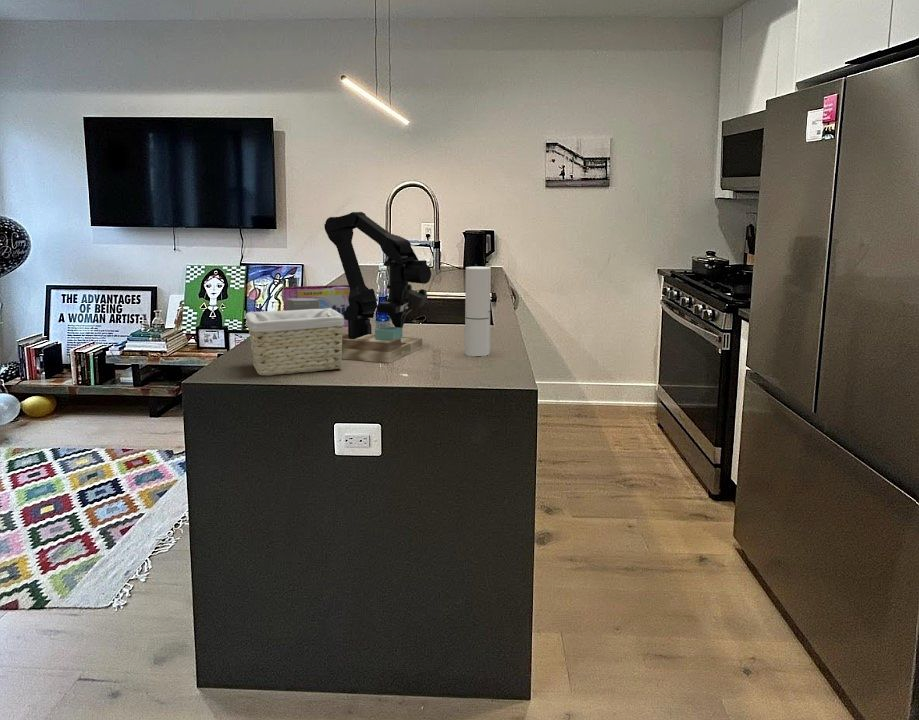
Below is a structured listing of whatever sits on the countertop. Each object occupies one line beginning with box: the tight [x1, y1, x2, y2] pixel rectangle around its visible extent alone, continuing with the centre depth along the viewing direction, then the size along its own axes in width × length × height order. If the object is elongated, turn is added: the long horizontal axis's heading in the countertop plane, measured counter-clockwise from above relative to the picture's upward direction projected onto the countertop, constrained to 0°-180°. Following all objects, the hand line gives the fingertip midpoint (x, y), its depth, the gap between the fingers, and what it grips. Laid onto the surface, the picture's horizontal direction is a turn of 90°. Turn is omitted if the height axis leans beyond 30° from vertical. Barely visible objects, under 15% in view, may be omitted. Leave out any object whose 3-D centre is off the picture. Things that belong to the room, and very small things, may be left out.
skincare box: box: [286, 298, 319, 311], centre depth 236 cm, size 8×7×16 cm
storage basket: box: [245, 308, 344, 377], centre depth 216 cm, size 24×16×15 cm
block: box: [374, 326, 403, 341], centre depth 243 cm, size 6×6×3 cm
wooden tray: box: [341, 333, 423, 364], centre depth 237 cm, size 18×22×6 cm
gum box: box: [280, 284, 350, 328], centre depth 280 cm, size 24×8×14 cm, turn 107°
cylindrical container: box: [464, 266, 492, 357], centre depth 234 cm, size 7×7×25 cm
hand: (399, 332), depth 249 cm, fingers closed
